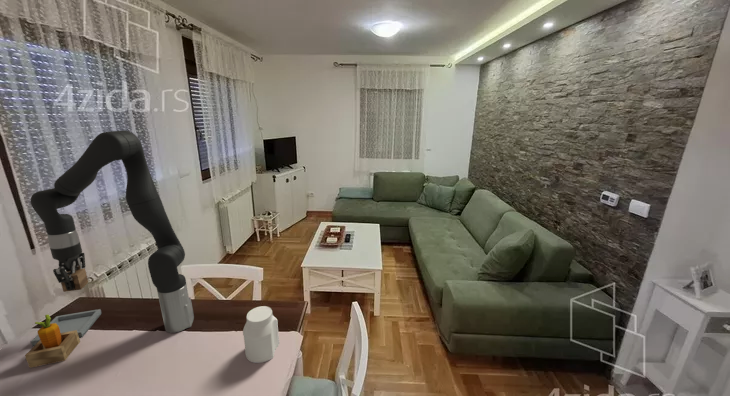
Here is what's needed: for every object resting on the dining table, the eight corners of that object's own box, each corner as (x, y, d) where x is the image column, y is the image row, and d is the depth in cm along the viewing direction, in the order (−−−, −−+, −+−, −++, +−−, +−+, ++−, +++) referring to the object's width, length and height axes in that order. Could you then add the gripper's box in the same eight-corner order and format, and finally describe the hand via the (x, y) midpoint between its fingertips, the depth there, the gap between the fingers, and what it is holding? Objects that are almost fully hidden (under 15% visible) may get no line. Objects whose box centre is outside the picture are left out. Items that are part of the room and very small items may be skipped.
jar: (256, 337, 107) (252, 302, 103) (281, 338, 106) (279, 303, 102) (242, 362, 95) (237, 324, 91) (270, 364, 95) (266, 326, 91)
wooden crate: (80, 341, 103) (76, 330, 102) (65, 360, 95) (61, 348, 94) (47, 347, 100) (43, 336, 99) (29, 367, 92) (24, 355, 91)
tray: (101, 313, 118) (100, 309, 118) (82, 337, 106) (81, 332, 105) (57, 321, 114) (56, 316, 113) (32, 346, 101) (30, 341, 100)
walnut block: (88, 282, 109) (84, 268, 108) (81, 289, 105) (77, 274, 103) (71, 284, 107) (67, 270, 106) (63, 291, 103) (59, 276, 101)
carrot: (53, 361, 95) (40, 323, 91) (41, 358, 96) (28, 321, 92) (70, 349, 100) (59, 313, 96) (59, 347, 101) (47, 311, 97)
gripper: (66, 250, 96) (77, 294, 101) (89, 234, 109) (98, 274, 114) (36, 253, 94) (49, 298, 98) (63, 236, 107) (74, 277, 111)
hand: (75, 285), depth 106 cm, fingers closed on walnut block, 5 cm apart
